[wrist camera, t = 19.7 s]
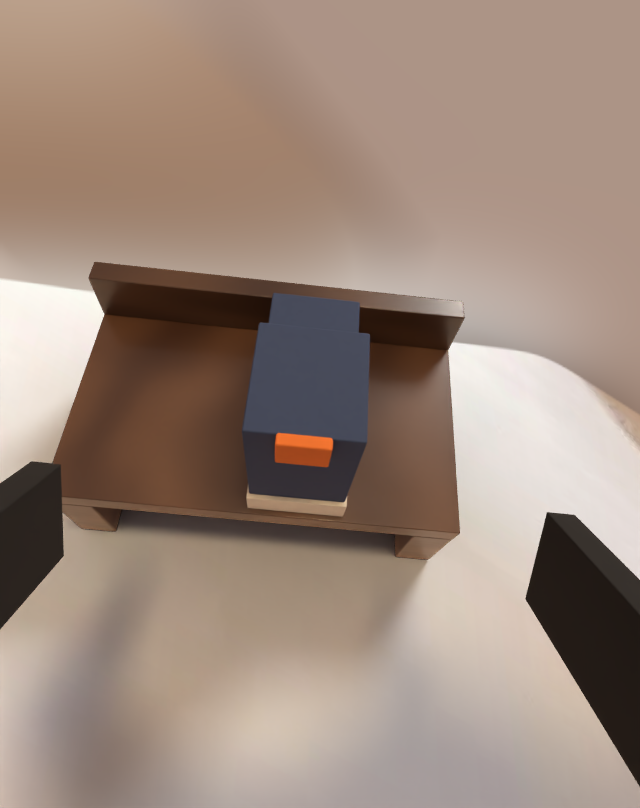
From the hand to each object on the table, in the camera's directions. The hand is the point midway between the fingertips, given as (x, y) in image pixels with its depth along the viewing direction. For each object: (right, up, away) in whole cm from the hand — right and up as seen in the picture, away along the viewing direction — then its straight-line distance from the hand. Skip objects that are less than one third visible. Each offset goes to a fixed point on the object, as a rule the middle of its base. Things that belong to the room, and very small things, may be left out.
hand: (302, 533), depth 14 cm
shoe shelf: (-3, +1, +19) cm, 19 cm away
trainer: (0, +3, +13) cm, 13 cm away
